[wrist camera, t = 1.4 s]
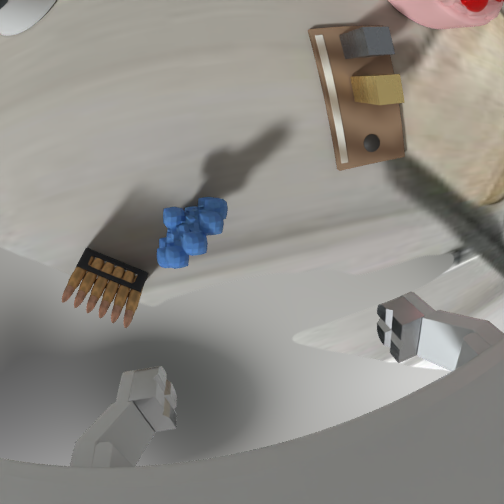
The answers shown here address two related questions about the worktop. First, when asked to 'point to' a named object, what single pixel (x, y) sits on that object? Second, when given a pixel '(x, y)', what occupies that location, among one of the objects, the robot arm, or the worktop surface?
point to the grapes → (190, 231)
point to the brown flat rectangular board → (355, 103)
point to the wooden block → (377, 89)
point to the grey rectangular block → (367, 42)
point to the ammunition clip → (106, 285)
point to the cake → (449, 12)
